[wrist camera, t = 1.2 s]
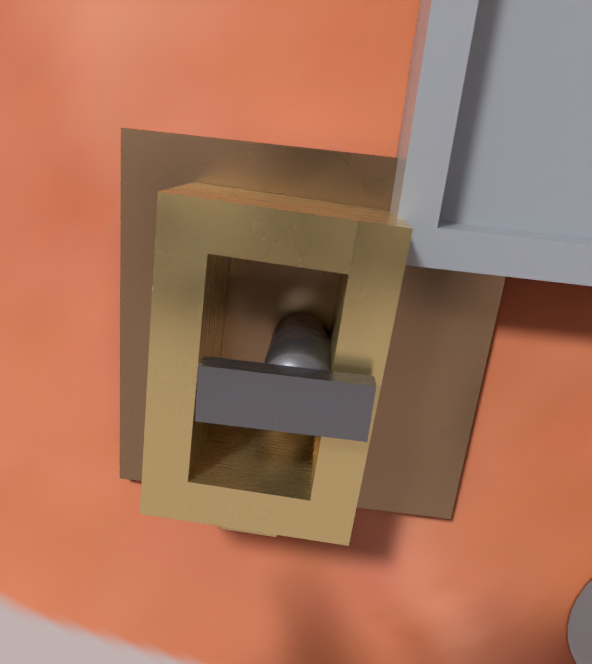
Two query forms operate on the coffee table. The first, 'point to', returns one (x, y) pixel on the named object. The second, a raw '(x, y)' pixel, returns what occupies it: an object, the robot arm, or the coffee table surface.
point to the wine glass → (581, 626)
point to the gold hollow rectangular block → (205, 340)
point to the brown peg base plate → (310, 326)
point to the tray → (499, 139)
